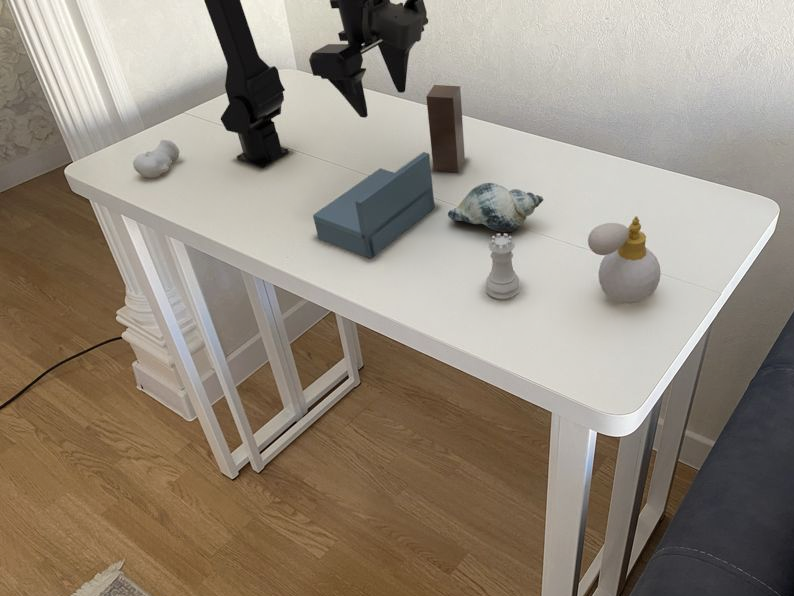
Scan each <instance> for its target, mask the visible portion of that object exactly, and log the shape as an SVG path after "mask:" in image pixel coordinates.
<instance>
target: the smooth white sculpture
mask: <svg viewBox="0 0 794 596" xmlns="http://www.w3.org/2000/svg"><path fill="white" fill-rule="evenodd" d="M179 149H180V148H179V147H178V146H177V145H176V144H175V142H173V141H172V140H170V139H161V140H160V141H159V144H158V146H157V147H156V148H155V149H153V150H151V151H150V150H149V151H148V150H147V151H146V152H145V153H141V154H139V155H137V156H136V157H135V158H134V159H133V162H132V165H133V169H134V170H135V172H137V174H139V175H140V176H142V177H144V178H147V179H148V178H149V179H154V178H159V177H160V176H161V175H162V174H163V173H166V172H168V171H169V170H170V167H171V166H172V164H173V162H175V161H177V160H178V159H179V156H180V150H179Z"/></svg>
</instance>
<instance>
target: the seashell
mask: <svg viewBox="0 0 794 596" xmlns="http://www.w3.org/2000/svg"><path fill="white" fill-rule="evenodd" d="M543 201H544V197H543V196H542V195H538V194H534V193H532V192H526V191H524V190H521V189H517V188H516V189H515V188H514V189H510V190H509V189H508V188H506V187H505V186H503V185H500V184H498V183H493V182H484V183H481V184H479V185H477V186H475V187H474V188H473V189H471V190H470V191H469V192H468V193H467V194H466V195H465V197H463V199H462V200H461V202H460V203H459V204H458V205H457V206H456V207H454V208H452V209H450V210H448V212H447V217H448V218H449V219H450V220H453V221H460V222H461V221H464V222H466V223H468V224H473V225H484V226H485V227H487V228H488V229H491V230H493V231H496V232H499V233H510V232H513V231H515V230H516V229H518V228H519V227H520V226H521V225H522V224H523V223H524V221H525V220H526V219H527V217H529V216H531V215H532V214H534V211H535V209H536V208H538V207H539V206H540V204H542V203H543Z"/></svg>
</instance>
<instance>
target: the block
mask: <svg viewBox="0 0 794 596" xmlns="http://www.w3.org/2000/svg"><path fill="white" fill-rule="evenodd" d="M425 98H426V107H427V108H426V109H427V119H428V127H429V128H428V129H429V138H430V148H431V159H432V171H434V172H443V173H456V174H458V173H459V172H460V170H461V169H462V167H463V165H464V163H465V161H466V156H465V155H466V153H465V141H464V140H465V139H464V123H463V110H462V109H463V108H462V93H461V86H460V85H445V84H434V85H433V86H432V88H431V89H430V90H429V92H428V93H427V95H426V97H425Z"/></svg>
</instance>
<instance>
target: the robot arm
mask: <svg viewBox="0 0 794 596" xmlns="http://www.w3.org/2000/svg"><path fill="white" fill-rule="evenodd" d="M203 1H204V4H205V6H206V9H207V12H208V15H209V18H210V21H211V23H212V26H213V28H214V32H215V34H216V38H217V40H218V43H219V45H220V48H221V51H222V54H223V56H224V59H225V62H226V66H227V67H226V76H225V81H224V89H225V93H226V96H227V101H228V105H227V107H226V108H225V110H224V112H222V115H221V116H220V122H221V123H222V125H223V126H224V129H225V130H226V131H227V132H231V133H235V134H237V136H238V139H239V140H238V141H239V143H240V146H241V150H242V152H241V153H240V154H238V155H236V160H237V161H240V162H243V163H246V164H248V165H252V166H255V167H257V168H261V169H263V168H265V167H268V166H270V165H271V164H272V163H274V162H276V161H277V160H279V159H281V158H283V157H284V156H286V155H287V154H289V153H290V151H289V149H288V148H286V147H283V146H282V145H281V140H280V137H279V133H278V131H277V129H276V124H275V121H273V119H274V118H275V117H277V116H280V115H281V114H282V105H283V102H284V101H285V96H284V92H285V91H286V88H285V87H284V85H283V84H282V81H281V77H280V73H279V70H278V68H277V67H276V66H275V65H272V66H270V65H268V63H266V62H265V61H264V60H263V59H262V58H261V57H260V55H259V53H258V49H257V46H256V43H255V41H254V37H253V34H252V32H251V28H250V26H249V23H248V20H247V18H246V13H245V11H244V8H243V4H242V1H241V0H203ZM329 4H330V7H331V9H332V10H333V9H338V13H339V16H340V20H341V24H342V28H343V30H341V31H340V32H337V34H338V39H339V41H340V42H347V43H343V44H342V43H327V44H326V45H324V46H322V47H320V48H318V49H316V50H315V51H313V52H311V54H310V56H309V58H308V61H309V65H310V68H311V72H312V76H314V77H320V78H321V80H327V81H329V83H330V84H332V85H333V87H334V88H335V89H336V90H337V91H338V92H339V93H340V94H341V95H342V97H344V99H345V101H347V102H348V104H349V105H350V106H351V108H353V110H354V111H355V112H356V113H357V115H358V116H359V117H360V118H367V117H368V115H369V113H368V106H367V100H366V95H365V91H364V86H363V78H364V75H365V73H366V71H367V68H366V67H363V62H364V58H363V54H365V53H366V52H369V51H370V50H372V49H374V48H376V47H378V50H379V52H380V54H381V56H382V59H383V61H384V63H385V66H386V68H387V71H388V74H389V75H390V78H391V81H392V83H393V85H394V87H395V89H396V91H397V93H400V94H403V93H405V92H406V87H407V86H406V85H407V76H408V64H409V57H410V53H411V50H412V48H413V47H414V45H415V44H416V43H419V42H420V41H421V40H422V33H423V32H424V31H425V26H426V25H427V24H429V18H428V17H427V16H428V15H427V14H428V13H427V8H426V4H425V1H424V0H405V2H404V3H403V2H399V3H393V2H392V1H391V0H329Z"/></svg>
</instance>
